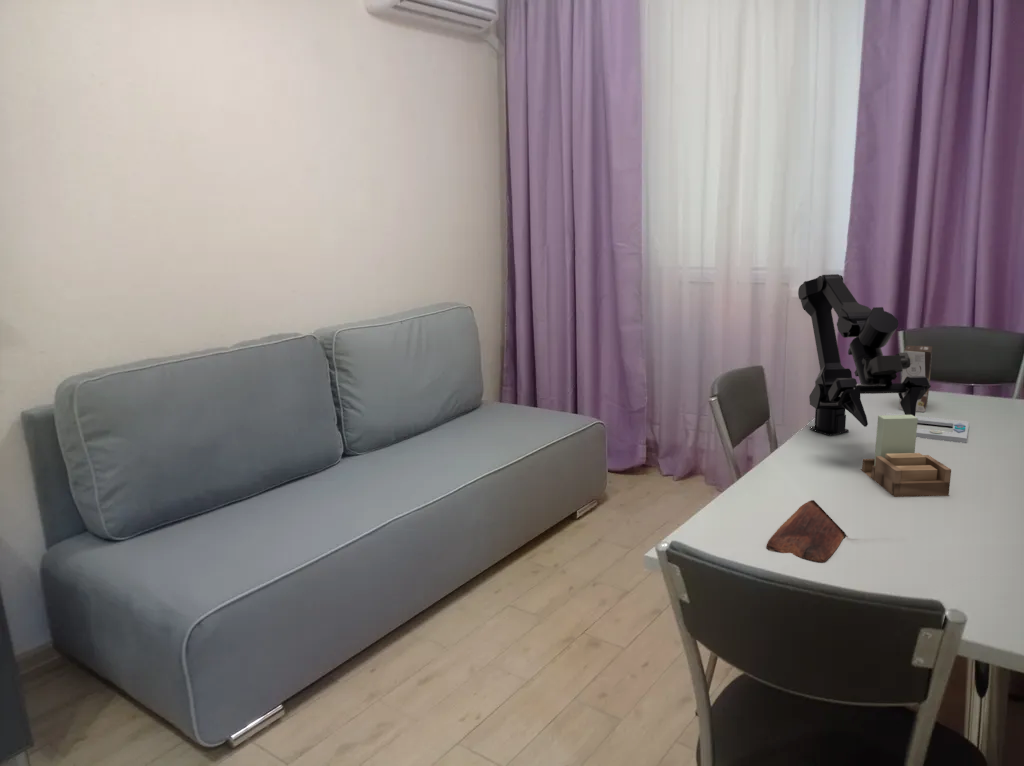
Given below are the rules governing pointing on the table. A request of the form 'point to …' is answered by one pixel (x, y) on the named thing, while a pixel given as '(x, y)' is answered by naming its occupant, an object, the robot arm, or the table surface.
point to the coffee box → (918, 369)
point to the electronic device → (956, 435)
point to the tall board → (895, 434)
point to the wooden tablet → (808, 534)
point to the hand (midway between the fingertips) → (889, 425)
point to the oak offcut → (906, 459)
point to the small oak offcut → (918, 473)
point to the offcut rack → (892, 483)
